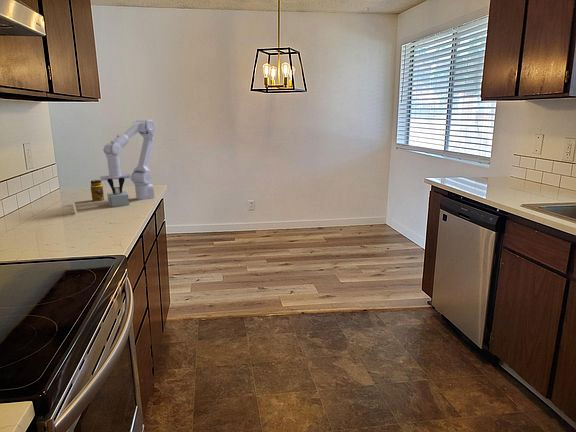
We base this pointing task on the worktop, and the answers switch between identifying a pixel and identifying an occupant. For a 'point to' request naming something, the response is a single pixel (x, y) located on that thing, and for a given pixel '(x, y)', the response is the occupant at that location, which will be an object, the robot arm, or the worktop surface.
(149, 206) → the worktop surface
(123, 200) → the cover
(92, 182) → the condiment
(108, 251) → the worktop surface
